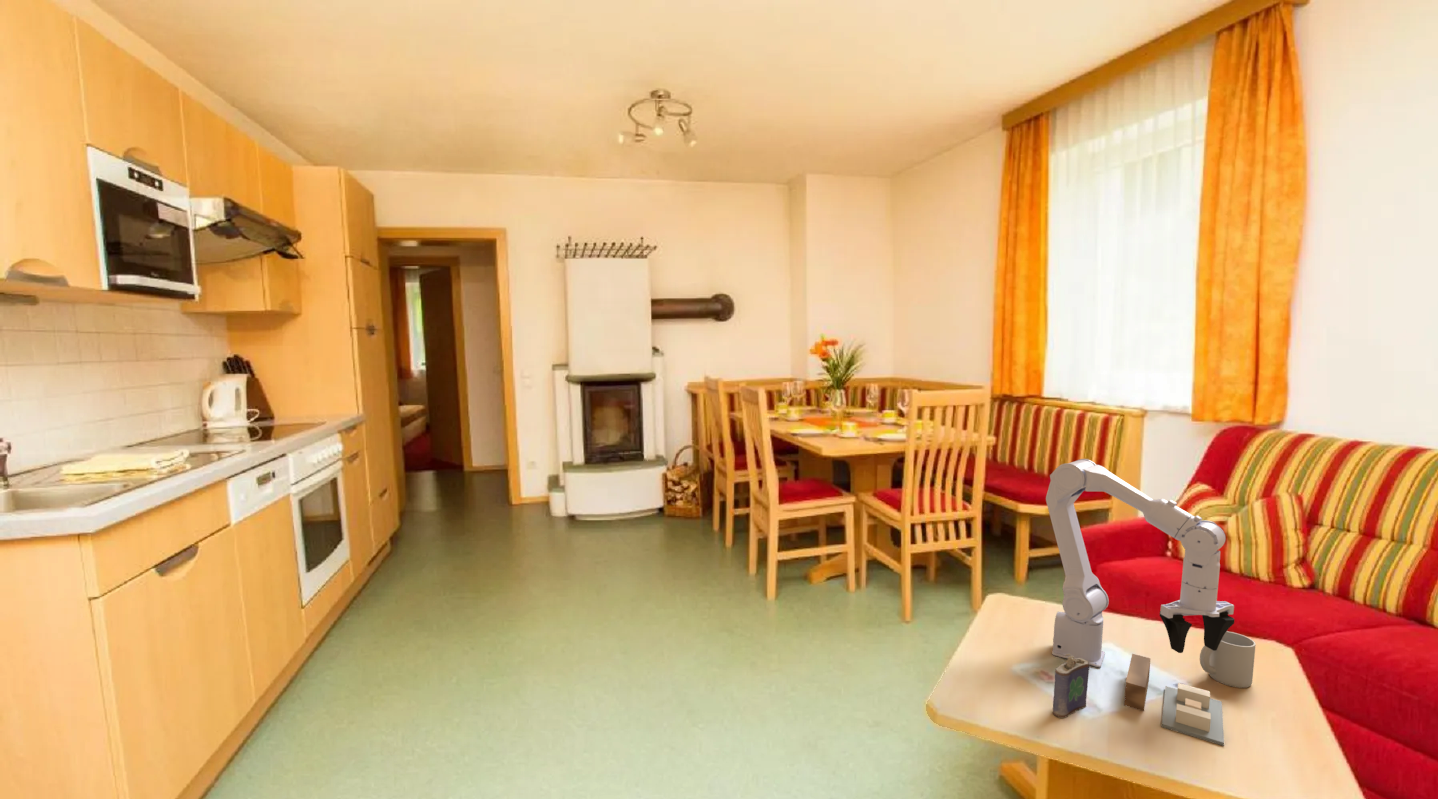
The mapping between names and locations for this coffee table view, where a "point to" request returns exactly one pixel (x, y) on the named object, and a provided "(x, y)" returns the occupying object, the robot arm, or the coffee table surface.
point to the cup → (1230, 660)
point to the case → (1137, 682)
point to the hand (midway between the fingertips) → (1193, 649)
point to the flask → (1070, 686)
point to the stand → (1193, 713)
